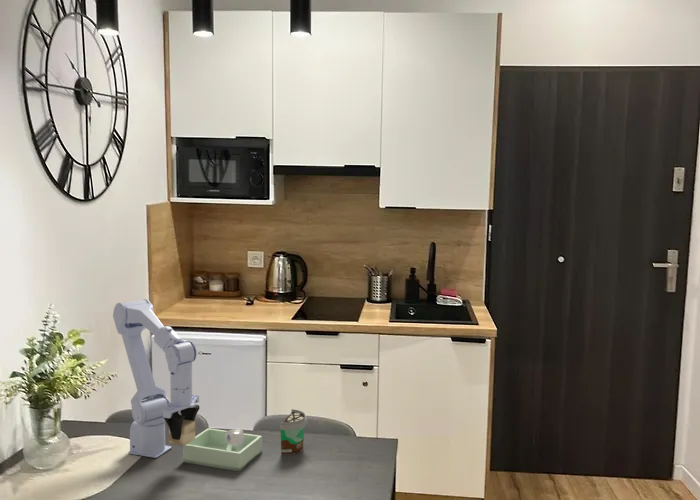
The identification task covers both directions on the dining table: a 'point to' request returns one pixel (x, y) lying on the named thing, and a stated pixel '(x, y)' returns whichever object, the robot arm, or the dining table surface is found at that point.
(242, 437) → the cylinder
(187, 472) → the dining table surface
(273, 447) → the dining table surface
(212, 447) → the tote
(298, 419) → the food container
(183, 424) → the cube
